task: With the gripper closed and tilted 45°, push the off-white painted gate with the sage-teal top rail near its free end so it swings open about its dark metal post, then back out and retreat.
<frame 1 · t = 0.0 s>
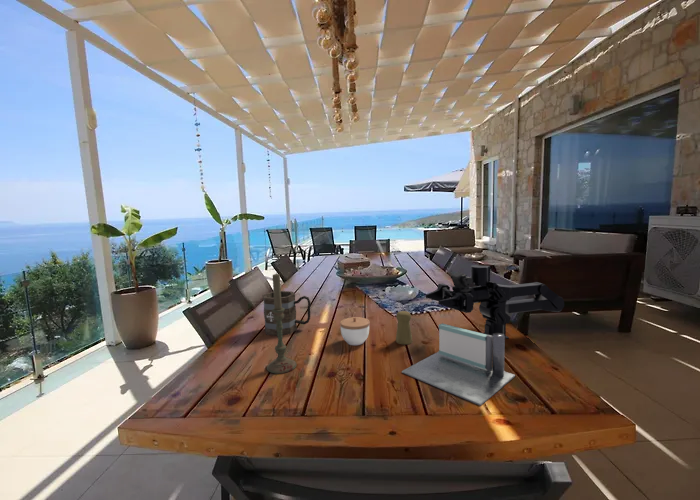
hand: (432, 299, 114), 17 cm above the table, tool horizontal, fingers open, 9 cm apart
mug: (288, 330, 137), on the table
candlestick holder: (281, 367, 104), on the table
gate: (464, 345, 100), point 6 cm above the table, hinge at 0.0°
lidded jar: (355, 342, 122), on the table
gate post: (489, 373, 95), on the table
olive green shaker: (404, 341, 121), on the table
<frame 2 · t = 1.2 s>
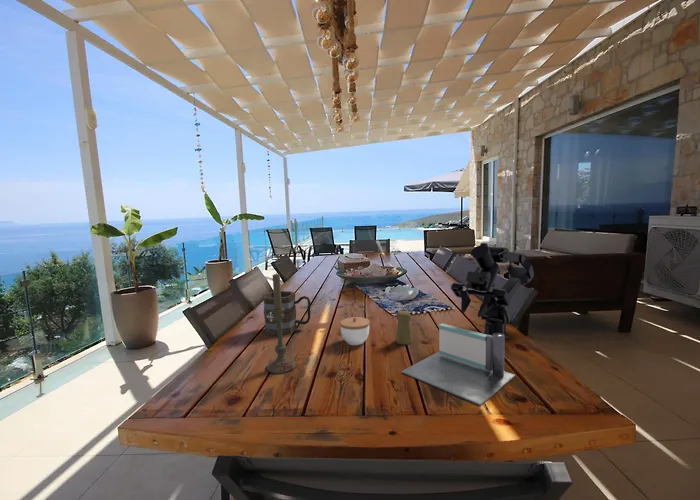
hand: (470, 314, 108), 13 cm above the table, tool tilted 45°, fingers open, 5 cm apart
nothing on the table moved.
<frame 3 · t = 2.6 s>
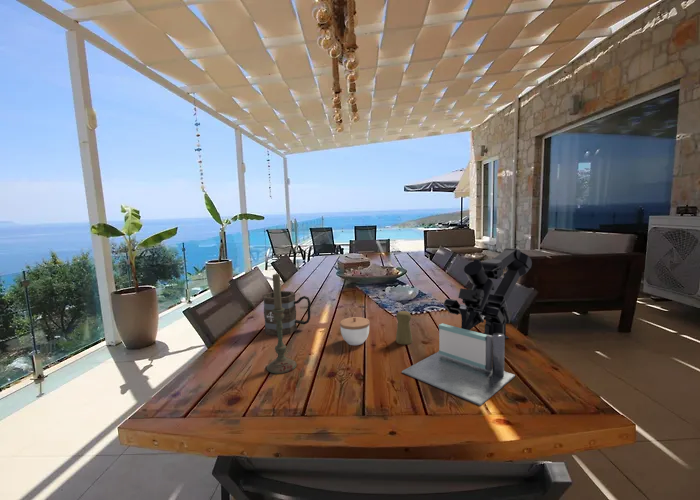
hand: (462, 333, 106), 8 cm above the table, tool tilted 45°, fingers closed
nothing on the table moved.
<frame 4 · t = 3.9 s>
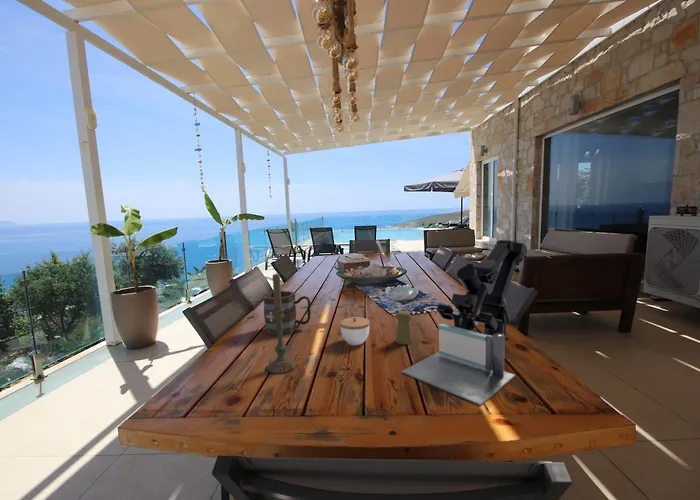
hand: (455, 339, 103), 7 cm above the table, tool tilted 45°, fingers closed, pressing on gate
gate: (464, 345, 100), point 6 cm above the table, hinge at 0.6°, touching gripper
everything else where it was.
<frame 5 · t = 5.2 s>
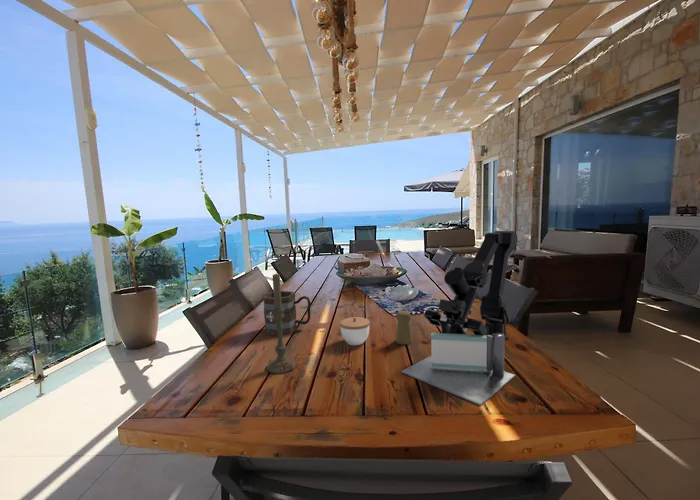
hand: (443, 347, 98), 6 cm above the table, tool tilted 45°, fingers closed
gate: (461, 351, 96), point 6 cm above the table, hinge at 35.4°, touching gripper
everything else where it was.
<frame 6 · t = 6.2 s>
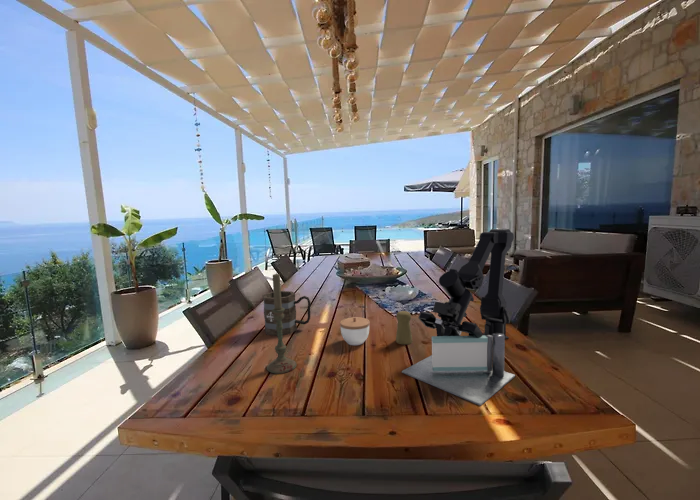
hand: (437, 350, 96), 6 cm above the table, tool tilted 45°, fingers closed
gate: (462, 353, 95), point 6 cm above the table, hinge at 45.4°, touching gripper
everything else where it was.
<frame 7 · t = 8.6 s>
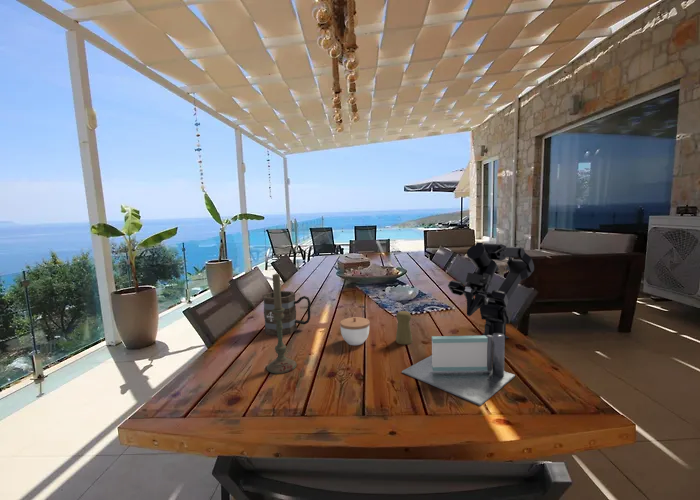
hand: (468, 315, 108), 12 cm above the table, tool tilted 40°, fingers closed
gate: (462, 353, 95), point 6 cm above the table, hinge at 45.5°
everything else where it was.
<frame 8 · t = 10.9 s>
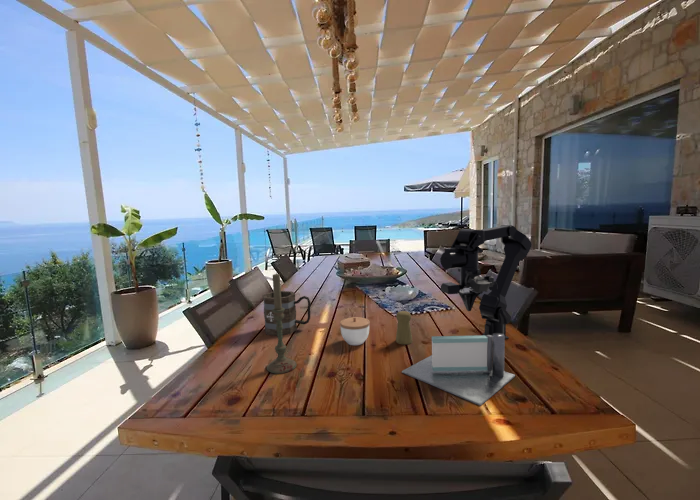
hand: (468, 310, 114), 12 cm above the table, tool pointing down, fingers closed
nothing on the table moved.
at the end: gate at +46° (first picture: +0°); olive green shaker moved 0.2 cm from its start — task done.
